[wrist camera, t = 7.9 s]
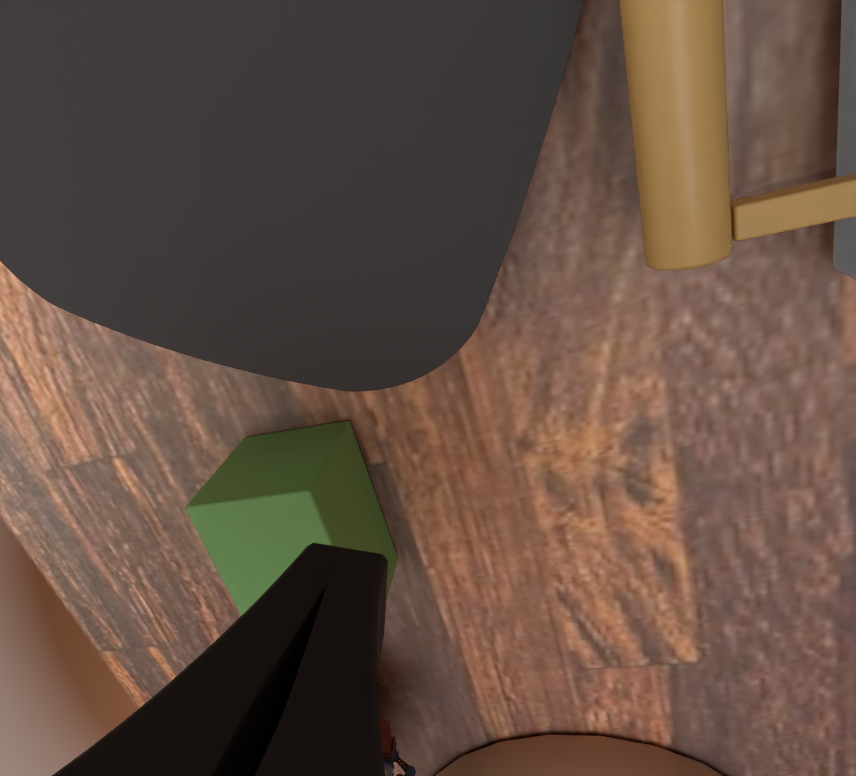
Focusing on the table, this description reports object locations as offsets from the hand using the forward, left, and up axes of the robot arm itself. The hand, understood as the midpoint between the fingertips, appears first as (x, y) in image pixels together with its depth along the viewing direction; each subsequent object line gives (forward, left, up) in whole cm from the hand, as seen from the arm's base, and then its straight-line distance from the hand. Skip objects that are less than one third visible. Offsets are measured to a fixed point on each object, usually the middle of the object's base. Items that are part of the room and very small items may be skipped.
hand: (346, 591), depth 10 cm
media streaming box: (+9, +2, -9) cm, 13 cm away
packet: (-4, +5, -9) cm, 11 cm away
